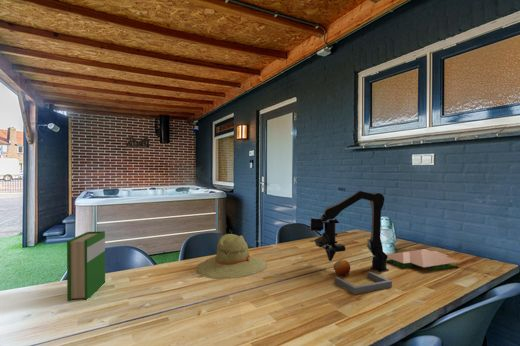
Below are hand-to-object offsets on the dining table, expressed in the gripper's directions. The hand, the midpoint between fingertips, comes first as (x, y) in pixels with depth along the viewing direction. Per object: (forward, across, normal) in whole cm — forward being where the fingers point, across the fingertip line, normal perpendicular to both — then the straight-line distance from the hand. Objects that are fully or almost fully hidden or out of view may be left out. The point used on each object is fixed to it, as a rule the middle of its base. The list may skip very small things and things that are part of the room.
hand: (330, 260), depth 150 cm
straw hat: (+4, -23, -47) cm, 52 cm away
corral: (+4, +24, 0) cm, 24 cm away
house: (+4, +13, +51) cm, 53 cm away
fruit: (+4, +10, 0) cm, 11 cm away
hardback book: (+4, -14, -114) cm, 115 cm away
